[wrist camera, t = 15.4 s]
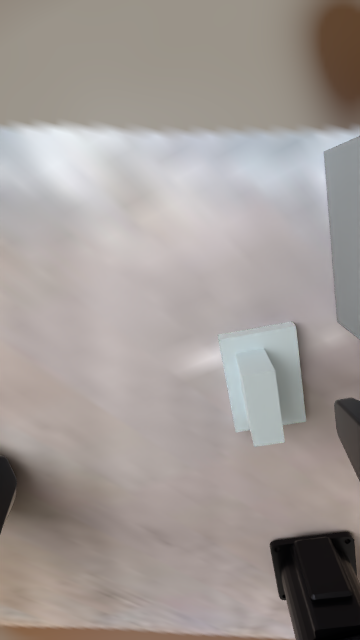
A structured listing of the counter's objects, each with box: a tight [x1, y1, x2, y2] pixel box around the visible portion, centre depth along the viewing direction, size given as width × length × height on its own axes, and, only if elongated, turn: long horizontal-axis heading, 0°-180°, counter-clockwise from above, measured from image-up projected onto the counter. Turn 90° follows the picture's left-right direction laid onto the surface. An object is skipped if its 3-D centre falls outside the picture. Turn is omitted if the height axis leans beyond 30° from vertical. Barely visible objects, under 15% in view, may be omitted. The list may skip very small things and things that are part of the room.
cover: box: [218, 322, 306, 447], centre depth 21 cm, size 7×5×4 cm
